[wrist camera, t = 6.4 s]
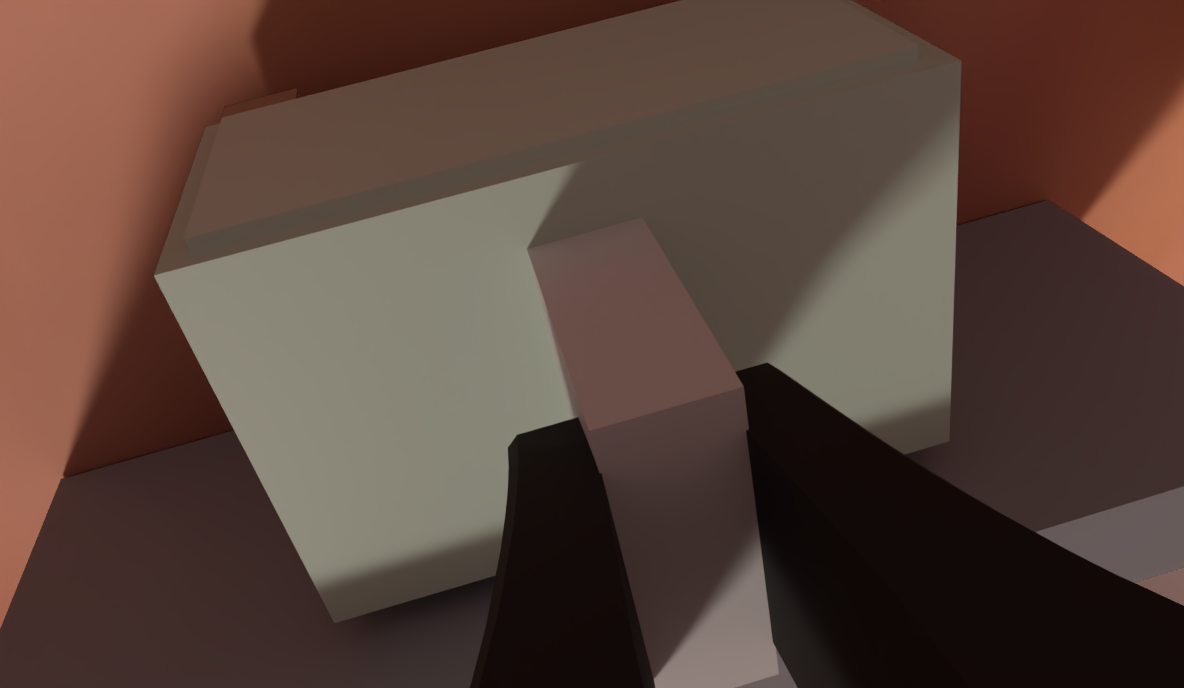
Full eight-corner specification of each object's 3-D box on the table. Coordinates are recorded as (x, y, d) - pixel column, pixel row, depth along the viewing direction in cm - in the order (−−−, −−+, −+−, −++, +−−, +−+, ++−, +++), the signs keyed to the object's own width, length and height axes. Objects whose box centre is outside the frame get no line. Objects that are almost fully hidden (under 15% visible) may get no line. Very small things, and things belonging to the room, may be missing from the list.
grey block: (337, 389, 16) (330, 862, 9) (209, 90, 13) (69, 469, 6) (798, 261, 16) (1100, 621, 10) (774, -53, 14) (1180, 158, 7)
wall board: (102, 541, 17) (-28, 948, 11) (-36, 332, 15) (-295, 714, 9) (1043, 270, 18) (1364, 511, 13) (1060, 36, 16) (1468, 199, 10)
